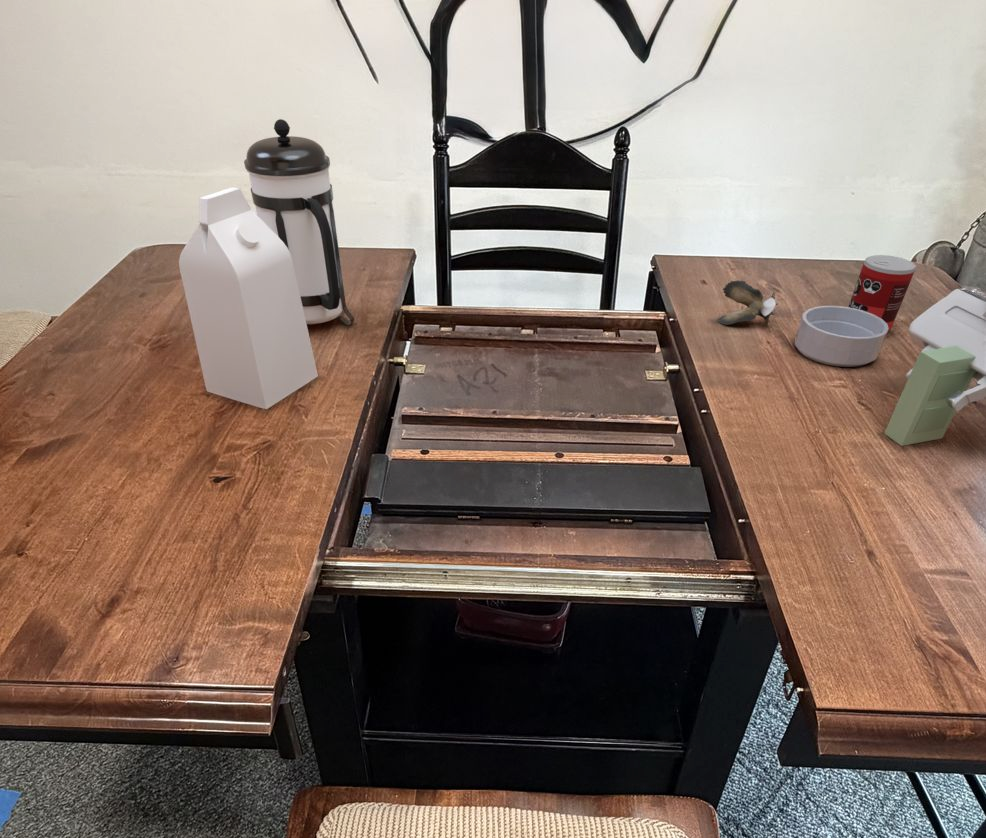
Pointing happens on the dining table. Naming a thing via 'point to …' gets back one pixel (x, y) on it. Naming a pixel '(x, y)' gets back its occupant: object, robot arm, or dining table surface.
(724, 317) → the eagle figurine
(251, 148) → the coffee press
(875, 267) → the canned food
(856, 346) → the bowl
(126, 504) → the dining table surface
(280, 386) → the milk
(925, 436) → the toy door
